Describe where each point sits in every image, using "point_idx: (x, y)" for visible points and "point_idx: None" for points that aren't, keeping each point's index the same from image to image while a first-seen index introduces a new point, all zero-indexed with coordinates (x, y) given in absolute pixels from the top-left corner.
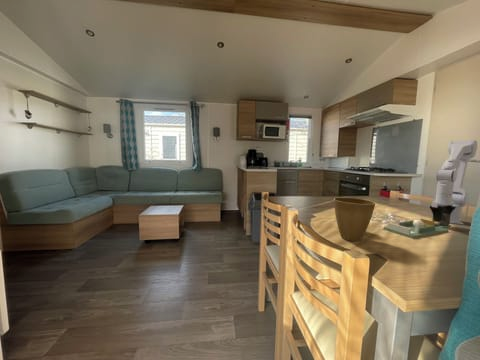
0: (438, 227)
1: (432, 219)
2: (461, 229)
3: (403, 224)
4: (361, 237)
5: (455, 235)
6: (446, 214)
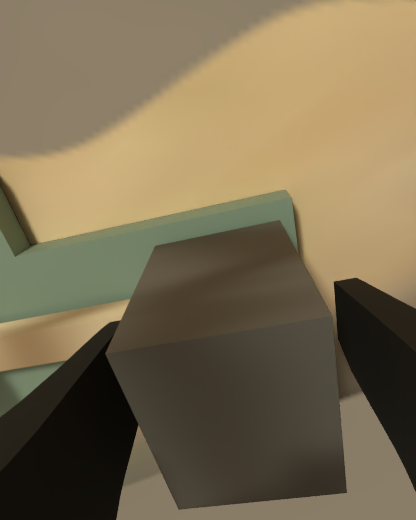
0: None
1: (145, 267)
2: (342, 381)
3: None
4: None
5: None
6: (279, 474)
